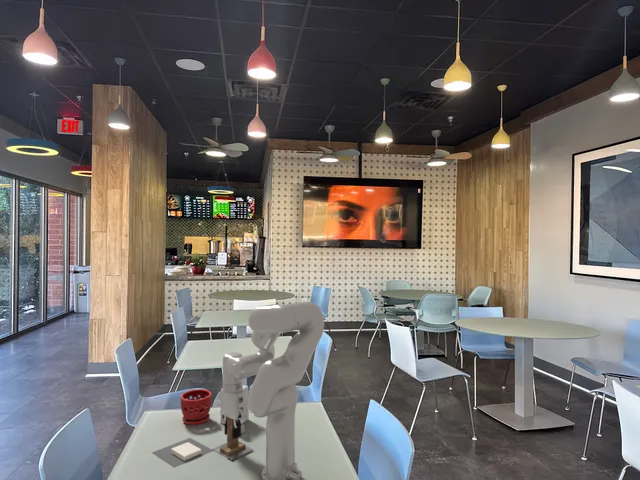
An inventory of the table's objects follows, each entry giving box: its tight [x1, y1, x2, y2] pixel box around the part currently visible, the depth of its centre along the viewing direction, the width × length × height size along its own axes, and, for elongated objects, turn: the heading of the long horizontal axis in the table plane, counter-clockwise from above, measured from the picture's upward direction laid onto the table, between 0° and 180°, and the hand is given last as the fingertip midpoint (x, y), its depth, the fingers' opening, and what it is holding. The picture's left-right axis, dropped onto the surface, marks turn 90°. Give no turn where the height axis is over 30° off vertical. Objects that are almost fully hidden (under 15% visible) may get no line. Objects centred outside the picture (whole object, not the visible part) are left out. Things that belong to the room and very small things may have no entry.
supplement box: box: [220, 384, 250, 425], centre depth 182 cm, size 9×9×15 cm
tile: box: [171, 442, 201, 461], centre depth 153 cm, size 2×7×9 cm
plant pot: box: [180, 388, 213, 426], centre depth 183 cm, size 13×13×12 cm
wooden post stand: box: [220, 417, 246, 455], centre depth 156 cm, size 5×8×15 cm, turn 139°
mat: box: [151, 437, 215, 468], centre depth 154 cm, size 16×16×1 cm
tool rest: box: [212, 442, 254, 462], centre depth 156 cm, size 12×10×1 cm
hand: (232, 434), depth 156 cm, fingers open, 4 cm apart
